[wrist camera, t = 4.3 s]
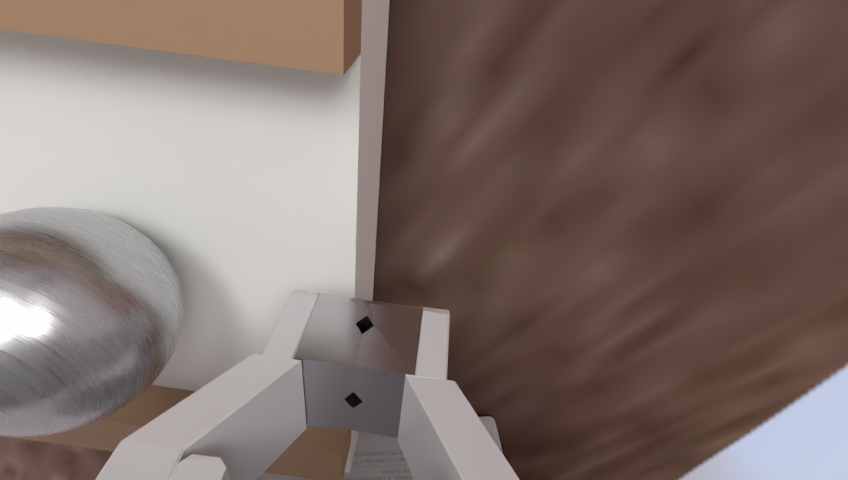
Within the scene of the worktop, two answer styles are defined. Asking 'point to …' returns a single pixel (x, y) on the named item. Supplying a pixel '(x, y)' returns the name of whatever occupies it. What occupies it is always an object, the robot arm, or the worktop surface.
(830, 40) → the worktop surface
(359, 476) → the supplement box
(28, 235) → the ball
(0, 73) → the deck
